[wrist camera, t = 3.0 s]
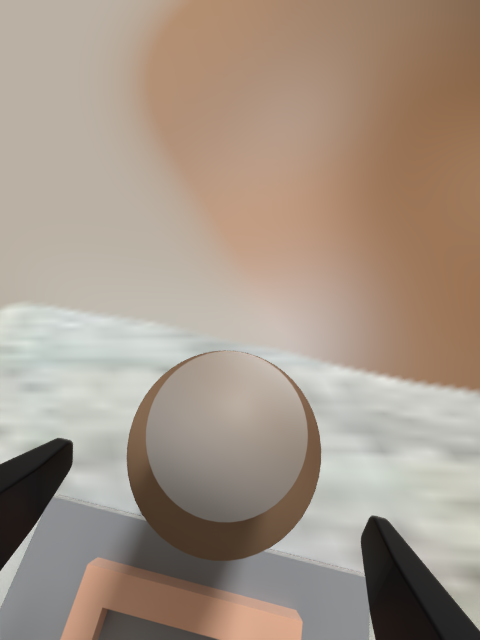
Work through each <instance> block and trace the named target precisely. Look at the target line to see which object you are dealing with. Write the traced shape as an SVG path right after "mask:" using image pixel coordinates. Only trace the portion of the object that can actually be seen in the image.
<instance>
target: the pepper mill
mask: <svg viewBox="0 0 480 640" xmlns="http://www.w3.org/2000/svg"><path fill="white" fill-rule="evenodd" d="M320 465H321V444H320V435H319V431H318V426H317V422H316V419H315V416H314V414H313V411H312V409H311V407H310V405H309V403H308V401H307V399H306V397H305V396H304V394H303V393H302V391H301V390H300V388H299V387H298V386H297V385H296V383H295V382H294V381H293V380H292V379H291V378H290V377H289V376H288V375H287V374H286V373H285V372H283V371H282V370H281V369H279V368H278V367H277V366H275V365H273V364H272V363H270V362H268V361H267V360H264V359H262V358H260V357H257V356H254V355H251V354H248V353H243V352H237V351H214V352H209V353H204V354H200V355H197V356H194V357H191V358H189V359H187V360H185V361H183V362H181V363H179V364H178V365H176V366H175V367H173V368H171V369H170V370H169V371H168V372H166V373H165V374H164V375H163V376H162V377H161V378H160V379H159V380H158V381H157V382H156V383H155V384H154V385H153V386H152V388H151V389H150V390H149V391H148V393H147V394H146V396H145V397H144V399H143V401H142V402H141V404H140V406H139V408H138V410H137V412H136V415H135V417H134V420H133V423H132V426H131V430H130V434H129V440H128V447H127V468H128V476H129V481H130V486H131V490H132V492H133V495H134V498H135V501H136V503H137V505H138V507H139V509H140V511H141V513H142V515H143V516H144V518H145V519H146V520H147V522H148V523H149V525H150V526H151V527H152V528H153V529H154V530H155V532H156V533H157V534H158V535H159V536H160V537H161V538H163V539H164V540H165V541H166V542H168V543H169V544H170V545H172V546H173V547H175V548H177V549H179V550H180V551H182V552H184V553H186V554H189V555H192V556H195V557H197V558H201V559H207V560H212V561H231V560H238V559H244V558H247V557H250V556H253V555H256V554H258V553H260V552H262V551H264V550H266V549H268V548H270V547H272V546H273V545H274V544H276V543H277V542H279V541H280V540H281V539H283V538H284V537H285V536H286V535H287V534H288V533H289V532H290V531H291V530H292V529H293V528H294V527H295V525H296V524H297V523H298V522H299V520H300V519H301V518H302V516H303V514H304V513H305V511H306V509H307V508H308V506H309V504H310V502H311V499H312V497H313V494H314V492H315V489H316V485H317V482H318V478H319V472H320Z"/></svg>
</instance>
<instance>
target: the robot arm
mask: <svg viewBox="0 0 480 640" xmlns="http://www.w3.org/2000/svg"><path fill="white" fill-rule="evenodd" d="M72 462H73V443H72V441H71V440H67V439H63V438H57V439H54V440H52V441H50V442H48V443H46V444H43V445H41V446H39V447H37V448H35V449H32V450H30V451H28V452H26V453H24V454H22V455H19V456H17V457H15V458H13V459H11V460H8V461H6V462H4V463H2V464H0V571H1V569H2V568H3V567H4V565H5V564H6V563H7V561H8V560H9V559H10V557H11V556H12V555H13V553H14V552H15V551H16V549H17V548H18V547H19V545H20V544H21V543H22V541H23V540H24V539H25V538H26V536H27V535H28V534H29V532H30V531H31V530H32V528H33V527H34V525H35V524H36V523H37V521H38V520H39V518H40V517H41V515H42V514H43V512H44V510H45V509H46V507H47V506H48V504H49V502H50V501H51V499H52V498H53V496H54V494H55V493H56V491H57V490H58V488H59V486H60V485H61V483H62V482H63V480H64V478H65V477H66V475H67V474H68V472H69V470H70V468H71V466H72ZM361 548H362V556H363V564H364V572H365V580H366V588H367V596H368V603H369V610H370V615H371V620H372V625H373V629H374V634H375V639H376V640H480V631H479V630H478V628H477V627H476V626H475V625H474V624H473V622H472V621H471V620H470V619H469V618H468V616H467V615H466V614H465V613H464V611H463V610H462V609H461V608H460V607H459V605H458V604H457V603H456V602H455V601H454V599H453V598H452V597H451V596H450V595H449V593H448V592H447V591H446V590H445V589H444V587H443V586H442V585H441V584H440V583H439V581H438V580H437V579H436V578H435V577H434V575H433V574H432V573H431V572H430V571H429V569H428V568H427V567H426V566H425V564H424V563H423V562H422V561H421V560H420V558H419V557H418V556H417V555H416V554H415V552H414V551H413V550H412V549H411V548H410V546H409V545H408V544H407V543H406V542H405V540H404V539H403V538H402V537H401V536H400V534H399V533H398V532H397V531H396V530H395V528H394V527H393V526H392V525H391V523H390V522H389V521H388V520H387V519H385V518H382V517H378V516H371V517H370V518H369V520H368V522H367V524H366V526H365V529H364V531H363V533H362V536H361Z"/></svg>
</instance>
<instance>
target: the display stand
mask: <svg viewBox="0 0 480 640" xmlns="http://www.w3.org/2000/svg"><path fill="white" fill-rule="evenodd" d="M0 640H369V603H368V596H367V588H366V580H365V575H364V574H362V573H361V572H357V571H353V570H349V569H345V568H341V567H337V566H334V565H330V564H326V563H322V562H318V561H314V560H310V559H306V558H302V557H299V556H295V555H291V554H287V553H283V552H279V551H275V550H271V549H266V550H264V551H262V552H260V553H258V554H256V555H253V556H250V557H247V558H244V559H238V560H231V561H212V560H207V559H201V558H197V557H195V556H192V555H189V554H186V553H184V552H182V551H180V550H179V549H177V548H175V547H173V546H172V545H170V544H169V543H168V542H166V541H165V540H164V539H163V538H161V537H160V536H159V535H158V534H157V533H156V532H155V530H154V529H153V528H152V527H151V526H150V525H149V523H148V522H147V520H146V519H145V518H144V517H143V516H139V515H135V514H132V513H128V512H124V511H120V510H116V509H112V508H108V507H104V506H101V505H97V504H93V503H89V502H85V501H81V500H77V499H73V498H69V497H66V496H62V495H56V496H53V498H52V499H51V501H50V502H49V504H48V506H47V507H46V509H45V510H44V512H43V514H42V516H41V519H40V521H39V523H38V525H37V528H36V530H35V532H34V534H33V537H32V539H31V541H30V543H29V546H28V548H27V550H26V552H25V555H24V557H23V559H22V561H21V563H20V566H19V568H18V570H17V572H16V575H15V577H14V579H13V581H12V584H11V586H10V588H9V590H8V593H7V595H6V597H5V599H4V602H3V604H2V606H1V608H0Z"/></svg>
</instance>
